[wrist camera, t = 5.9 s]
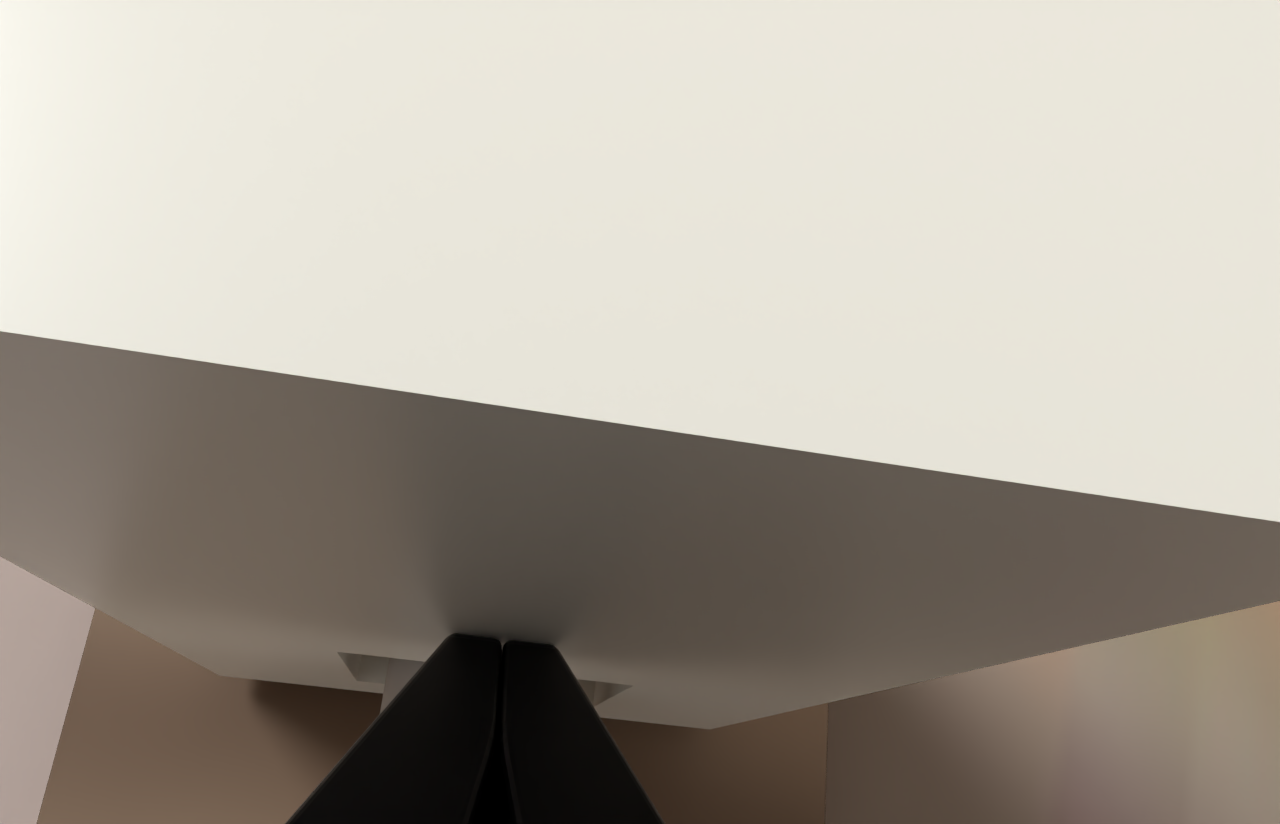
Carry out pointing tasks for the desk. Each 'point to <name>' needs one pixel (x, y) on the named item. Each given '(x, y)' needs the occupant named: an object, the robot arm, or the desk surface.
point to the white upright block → (642, 332)
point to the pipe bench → (329, 726)
